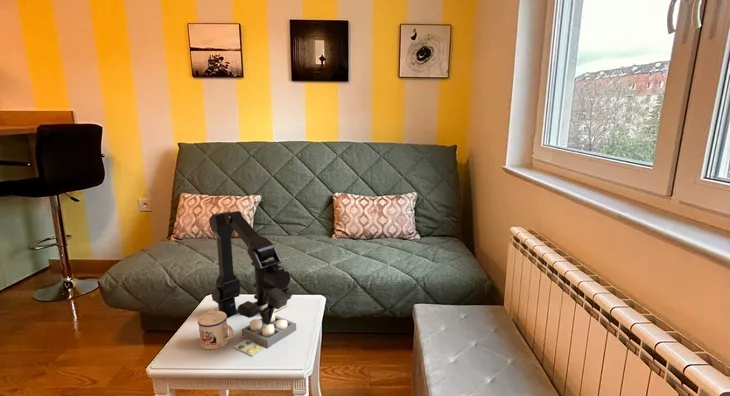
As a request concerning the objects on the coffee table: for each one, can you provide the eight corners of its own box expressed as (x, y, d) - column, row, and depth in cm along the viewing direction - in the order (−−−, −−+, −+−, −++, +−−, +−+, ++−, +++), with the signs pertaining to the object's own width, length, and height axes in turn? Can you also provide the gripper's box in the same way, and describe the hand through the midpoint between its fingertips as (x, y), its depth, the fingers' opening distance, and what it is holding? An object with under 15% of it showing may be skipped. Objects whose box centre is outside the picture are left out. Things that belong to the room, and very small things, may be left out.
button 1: (247, 329, 138) (247, 322, 137) (256, 324, 141) (256, 318, 140) (255, 333, 135) (255, 326, 135) (264, 328, 139) (264, 321, 138)
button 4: (273, 330, 139) (272, 323, 139) (281, 325, 143) (281, 318, 142) (281, 333, 137) (281, 326, 137) (290, 328, 140) (289, 321, 140)
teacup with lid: (193, 347, 131) (190, 314, 129) (212, 333, 140) (209, 302, 137) (224, 354, 127) (221, 320, 125) (242, 339, 136) (239, 307, 133)
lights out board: (227, 344, 133) (226, 337, 132) (270, 319, 148) (270, 313, 148) (253, 357, 126) (253, 349, 125) (296, 329, 141) (296, 323, 140)
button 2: (259, 335, 134) (259, 327, 134) (268, 329, 137) (268, 322, 137) (268, 338, 132) (267, 331, 131) (277, 333, 135) (276, 326, 135)
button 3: (261, 322, 142) (260, 315, 142) (269, 317, 146) (269, 311, 145) (269, 325, 140) (268, 318, 140) (277, 320, 143) (277, 313, 143)
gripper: (259, 297, 119) (262, 345, 122) (302, 275, 134) (305, 319, 137) (234, 288, 125) (238, 334, 128) (279, 269, 140) (281, 310, 143)
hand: (267, 324), depth 134 cm, fingers closed
